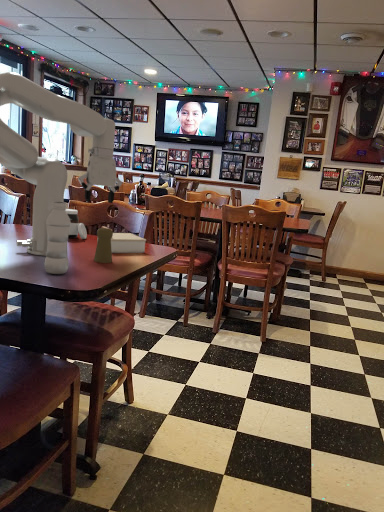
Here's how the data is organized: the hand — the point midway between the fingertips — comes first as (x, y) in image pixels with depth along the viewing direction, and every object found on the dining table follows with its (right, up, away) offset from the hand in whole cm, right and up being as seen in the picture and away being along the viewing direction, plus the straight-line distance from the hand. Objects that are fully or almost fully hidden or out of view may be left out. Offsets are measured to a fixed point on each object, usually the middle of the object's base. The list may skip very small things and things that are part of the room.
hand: (99, 201), depth 149 cm
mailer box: (+6, -17, +9) cm, 20 cm away
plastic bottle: (-4, -25, -36) cm, 44 cm away
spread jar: (-17, -12, +23) cm, 31 cm away
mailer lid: (+7, -13, +8) cm, 17 cm away
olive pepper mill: (+5, -22, -15) cm, 27 cm away
